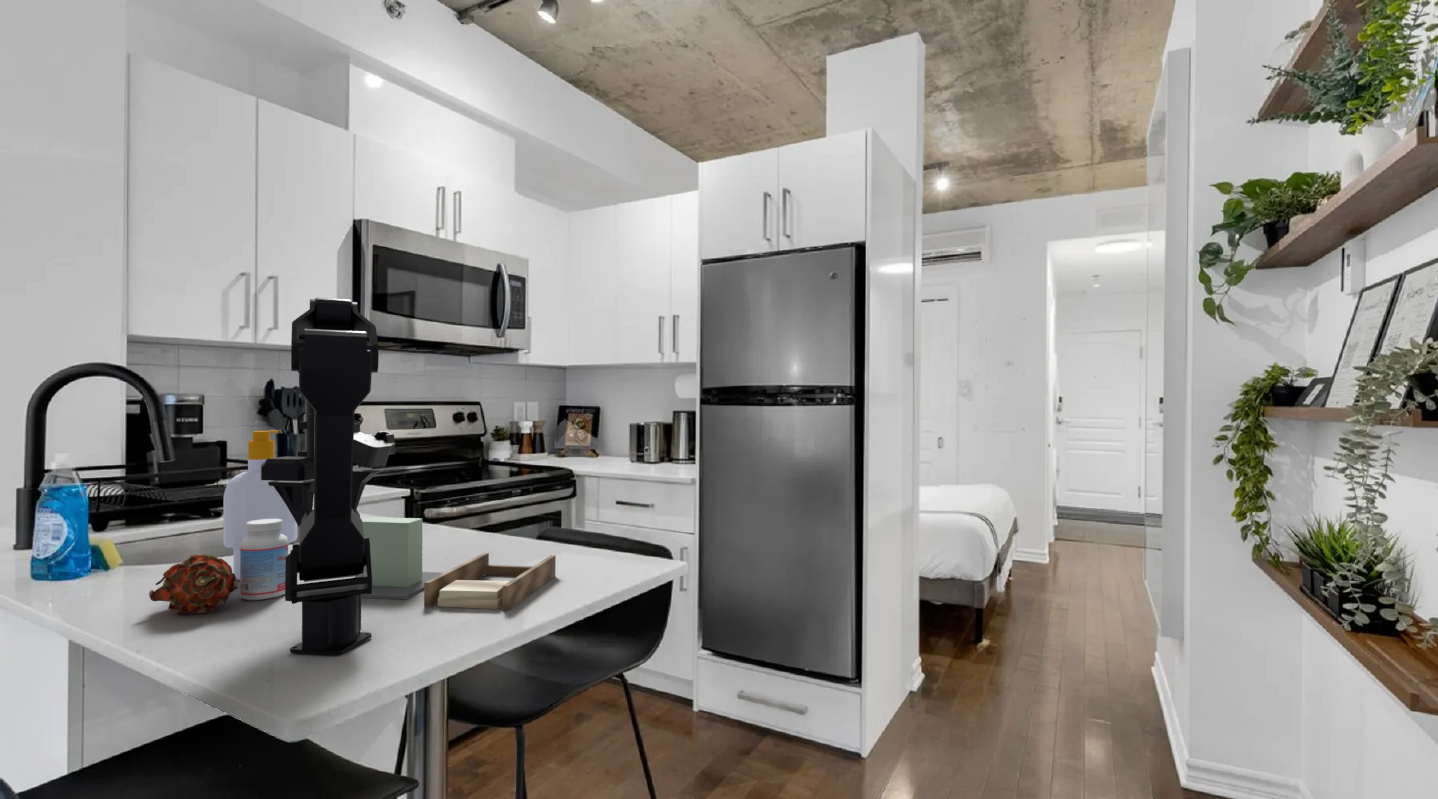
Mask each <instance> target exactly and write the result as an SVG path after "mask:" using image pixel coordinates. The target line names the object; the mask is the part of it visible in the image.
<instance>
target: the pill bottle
mask: <svg viewBox="0 0 1438 799" xmlns="http://www.w3.org/2000/svg"><path fill="white" fill-rule="evenodd" d="M282 528H283V522H282V520H281V519H261V520H254V521H249V522H247V523H246V531H247V533H248V537H246V538H245V539H243V541H242V542H241V545H240V580H239V582H240V584H239V586H240V587H239V588H240V589H239V595H240V598H241V599H242V600H244V601H245V600H246V601H263V600H267V599H274V598H279V597H281V596H285V567H286V557H287V556H288V555H289V543H288V539H287V537H286V536H285V535H283V534H281V530H282Z"/></svg>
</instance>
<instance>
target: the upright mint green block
mask: <svg viewBox="0 0 1438 799" xmlns="http://www.w3.org/2000/svg"><path fill="white" fill-rule="evenodd" d="M361 520H362V522H363V531H364V538H369V540H370V554H371V569H372V586H396V587H409V586H411V585H413V584H416V583H418V582H420V581H422V572H423V518H420V517H419V518H418V517H417V518H415V517H414V518H413V517H408V518H407V517H385V516H384V517H383V516H380V517H379V516H369V517H366V518H363V519H362V518H361ZM357 577H364V572H363V573H362V574H359V576H354V578H357Z"/></svg>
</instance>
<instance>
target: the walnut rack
mask: <svg viewBox="0 0 1438 799" xmlns="http://www.w3.org/2000/svg"><path fill="white" fill-rule="evenodd" d="M556 556H557V555H556V554H555V555H553V554H551V555H549V556H547V557H546V558H544V559H543V560H541V561H540V562H538V563H536V564H535V565H533V566H532V565H505V564H502V565H501V564H490V563H489V562H490V561H489V560H490V559H489V557H490V553H489V552H483V553H481V554H479V555H477V556H474V557H473V558H471V559H469V560H467V561H465V562H463V563H461V564H459V565H457V566H455V567H453V568H451V569H448V570H447V571H445V572H442V573H443V574H440V575H438V576H436V577H434V578H432V579H430V580H428V581H426V582H424V590H423V591H424V592H423V607H424V608H430V607H432V606H434V605H436V604H438V598H439V590H441V589H443V588H444V587H446V586H447V585H449V584H451V583H452V582H454V581H455V580H480V579H482V578H483V577H485V576H508V577H509V576H510V577H512V576H513V577H514V578H513V579H511V580H508V581H509V582H508V583H506V584H505V585H503V606H502V611H505V612H506V611H507V612H508V611H510V610H511V609H512V608H515V606H517V605H518V604H519V603H521V602H522V601H524V600H525V599H527V597H529V596H530V595H532V594H533V593H535V592H536V591H537V590H538V589H540V588H541V587H542V586H544V585H545V584H547V583H548V582H549V581H551V580H552V579H553V578H555V577H556V563H557V562H556V558H557V557H556Z"/></svg>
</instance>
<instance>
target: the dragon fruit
mask: <svg viewBox="0 0 1438 799" xmlns="http://www.w3.org/2000/svg"><path fill="white" fill-rule="evenodd" d="M162 576H163V577H162V578H161V579H160V580H159V581H157V582H156V583H155V585H156V586H158V585H160V584H161V583H162V582H163V583H162V586H160V587H158V588H157V589H156V590H154V589H151V590H150V591H149V592H148V593H149V594H148V596H149V600H151V601H153V602H165V603H166V602H169V605H168V610H169V611H170V612H172V613H173V614H174V613H175V614H177V615H182V614H187V613H189V612H190V613H193V614H208V613H210V612H212V611H213V610H214V609H215V607H216V606H220V605H222V604H225V603H226V602H227V601H228V600H229V598H230V594H231V593H233V592H234V591H236V590H238V589H239V586H238V582H237V581H238V580H237V579H236V576H235V574H234V573H233V567H232V566H231V565H229V563H228V562H227V561H226V560H224V559H223V558H218V557H217V556H216V555H214V554H201V555H200V554H192V555H190V556H189V558H187V559H185V560H183V561H182V562H180V563H176V564H174V565H172V566H170V567H169V568H168V569H167V570H166V571H164V573H163V574H162ZM155 585H154V586H155Z"/></svg>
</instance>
